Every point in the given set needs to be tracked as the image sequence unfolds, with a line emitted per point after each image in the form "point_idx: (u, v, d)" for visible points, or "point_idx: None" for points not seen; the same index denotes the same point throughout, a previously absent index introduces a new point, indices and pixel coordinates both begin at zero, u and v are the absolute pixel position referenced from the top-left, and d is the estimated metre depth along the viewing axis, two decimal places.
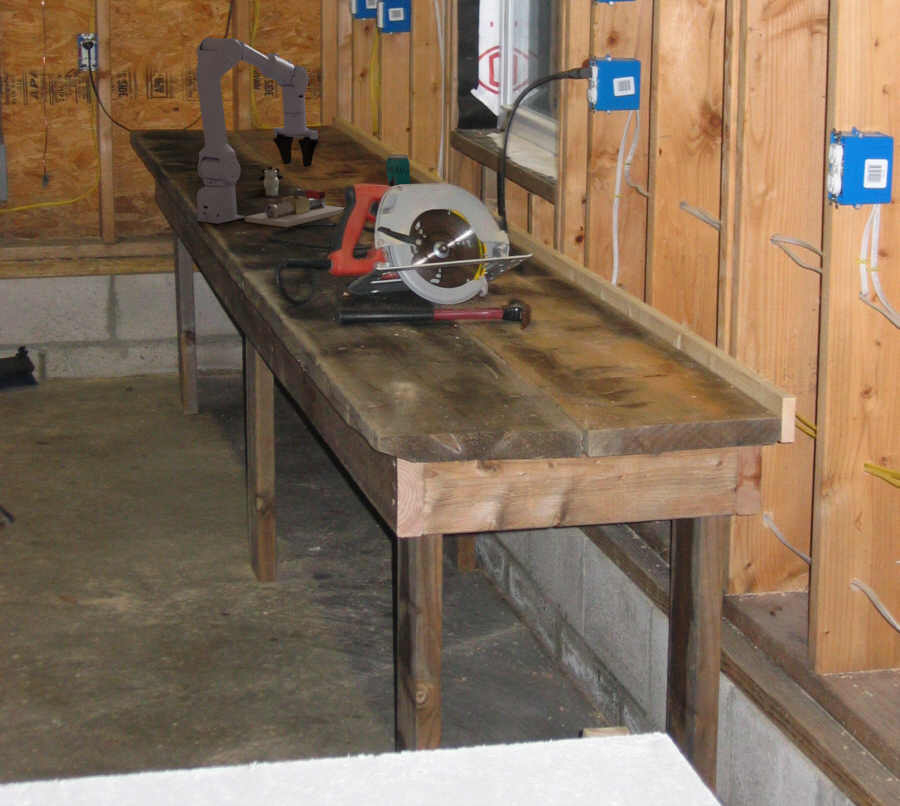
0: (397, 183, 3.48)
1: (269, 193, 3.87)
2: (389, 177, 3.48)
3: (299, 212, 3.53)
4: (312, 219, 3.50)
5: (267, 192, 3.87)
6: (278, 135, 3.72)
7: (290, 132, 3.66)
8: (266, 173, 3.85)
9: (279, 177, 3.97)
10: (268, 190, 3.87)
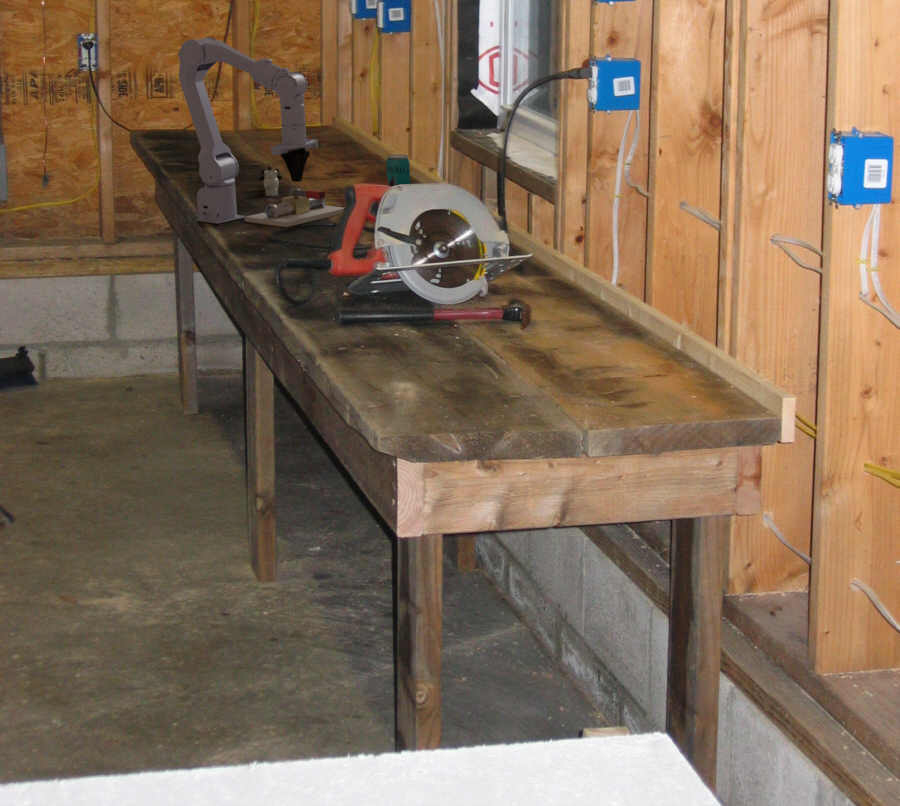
0: (397, 183, 3.48)
1: (269, 193, 3.87)
2: (389, 177, 3.48)
3: (299, 212, 3.53)
4: (312, 219, 3.50)
5: (267, 192, 3.87)
6: None
7: None
8: (266, 173, 3.85)
9: (278, 177, 3.96)
10: (268, 190, 3.87)
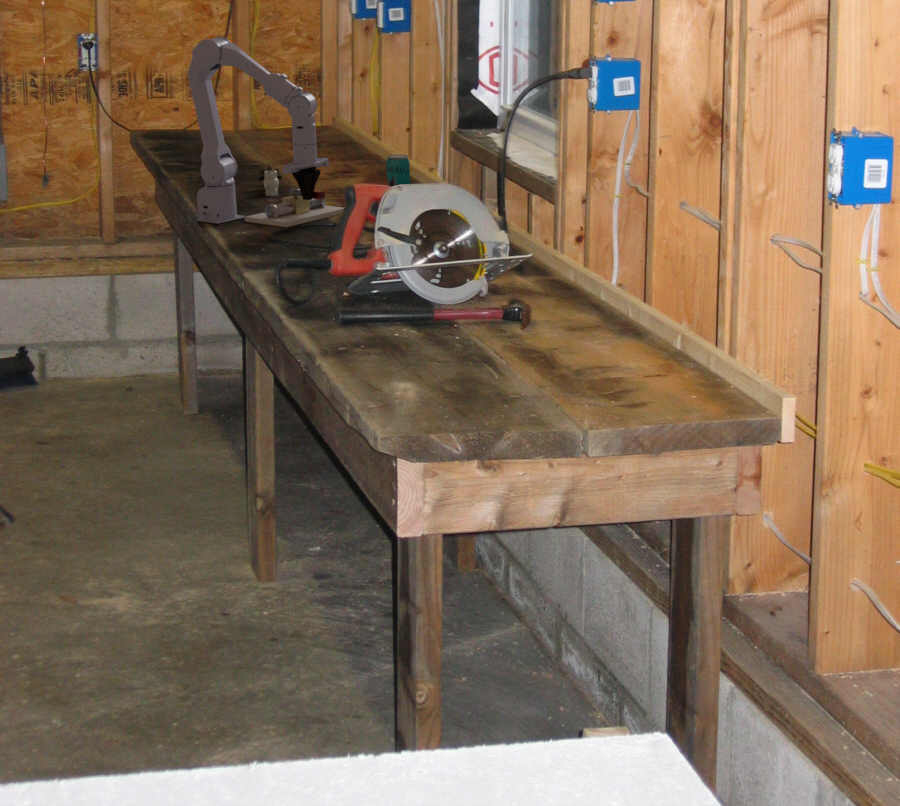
0: (397, 183, 3.48)
1: (269, 193, 3.86)
2: (389, 177, 3.48)
3: (299, 212, 3.53)
4: (312, 219, 3.50)
5: (267, 192, 3.87)
6: None
7: None
8: (266, 173, 3.85)
9: (278, 177, 3.96)
10: (268, 190, 3.86)
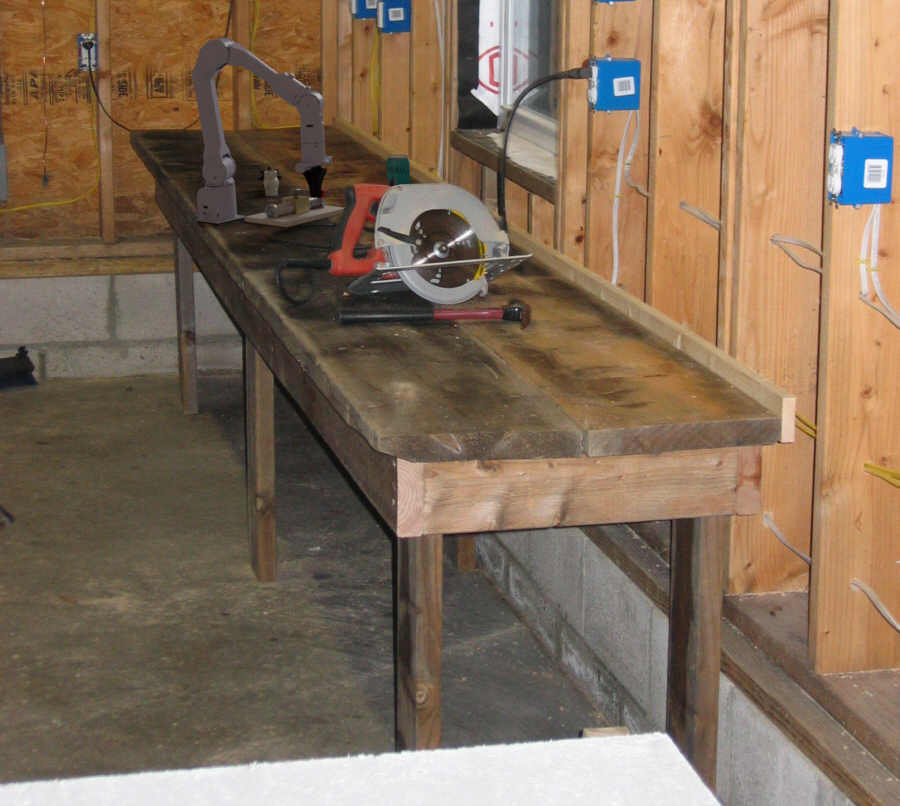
0: (397, 183, 3.48)
1: (269, 193, 3.86)
2: (389, 177, 3.48)
3: (299, 212, 3.53)
4: (312, 219, 3.50)
5: (267, 192, 3.87)
6: None
7: None
8: (266, 173, 3.85)
9: (278, 177, 3.96)
10: (268, 190, 3.86)
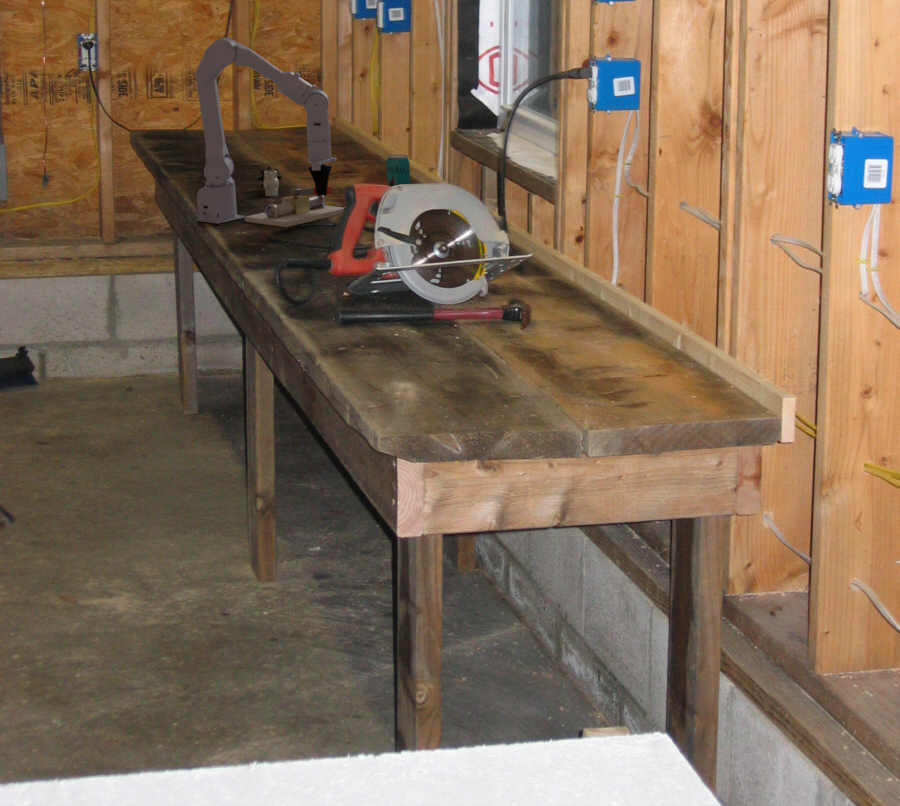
0: (397, 183, 3.48)
1: (269, 193, 3.86)
2: (389, 177, 3.48)
3: (299, 212, 3.53)
4: (312, 219, 3.50)
5: (267, 192, 3.86)
6: None
7: (308, 160, 3.50)
8: (266, 173, 3.85)
9: (278, 177, 3.96)
10: (268, 190, 3.86)
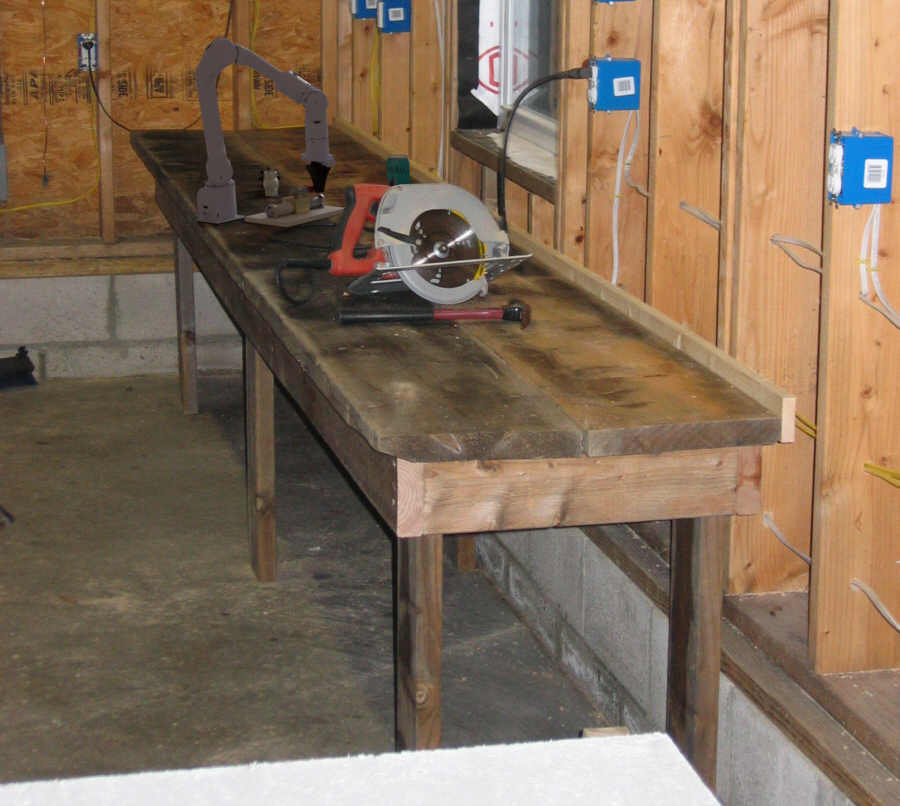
0: (397, 183, 3.48)
1: (269, 193, 3.86)
2: (389, 177, 3.48)
3: (299, 212, 3.53)
4: (312, 219, 3.50)
5: (267, 193, 3.86)
6: (311, 162, 3.56)
7: (309, 158, 3.52)
8: (266, 174, 3.84)
9: (277, 178, 3.96)
10: (268, 191, 3.86)
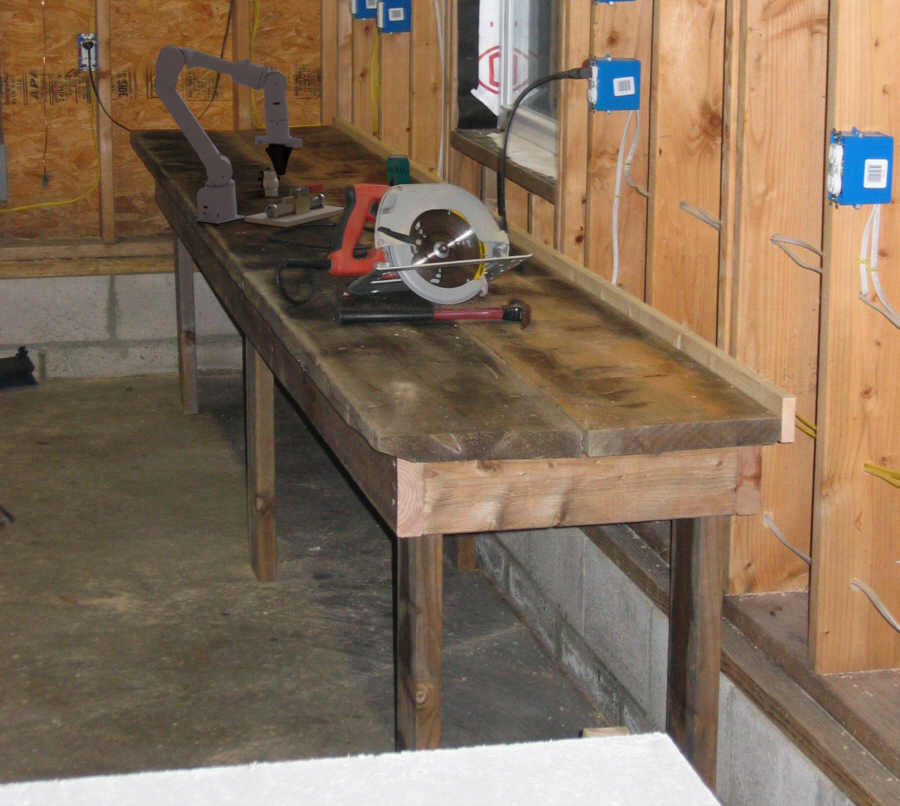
0: (397, 183, 3.48)
1: (269, 193, 3.86)
2: (389, 177, 3.48)
3: (299, 212, 3.53)
4: (312, 219, 3.50)
5: (267, 193, 3.86)
6: (270, 145, 3.52)
7: (273, 141, 3.49)
8: (266, 174, 3.84)
9: (277, 178, 3.96)
10: (268, 191, 3.86)
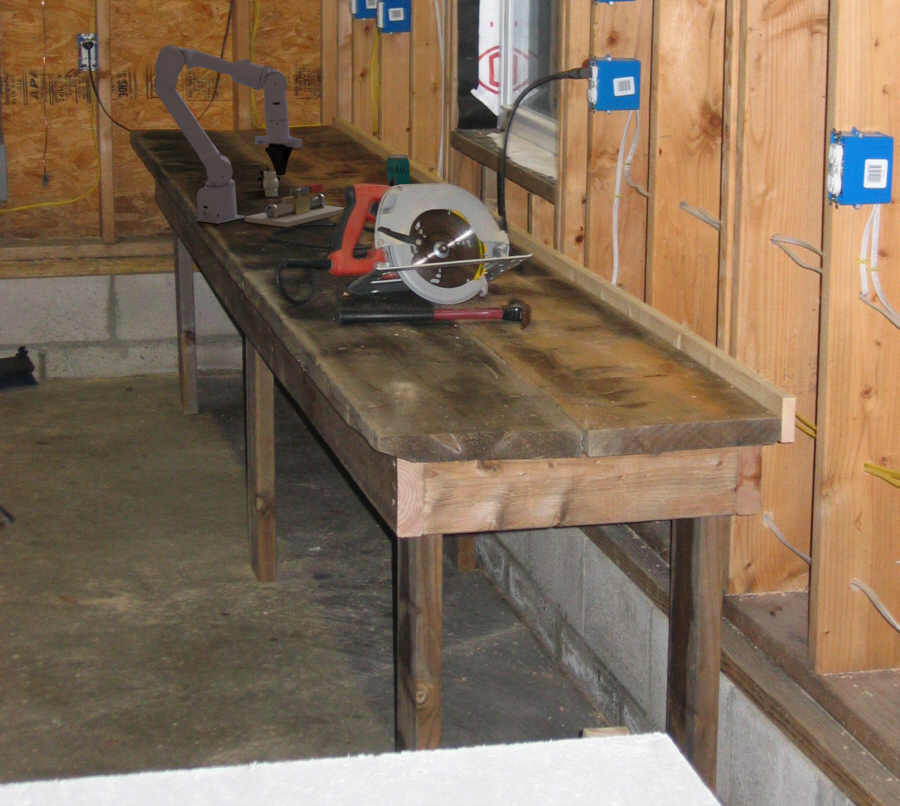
0: (397, 183, 3.48)
1: (269, 193, 3.85)
2: (389, 177, 3.48)
3: (299, 212, 3.53)
4: (312, 219, 3.50)
5: (267, 193, 3.86)
6: (270, 145, 3.52)
7: (273, 140, 3.49)
8: (266, 174, 3.84)
9: (276, 178, 3.95)
10: (268, 191, 3.85)
